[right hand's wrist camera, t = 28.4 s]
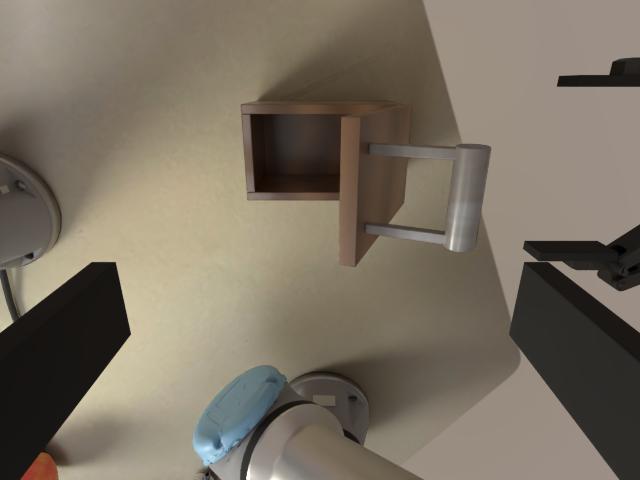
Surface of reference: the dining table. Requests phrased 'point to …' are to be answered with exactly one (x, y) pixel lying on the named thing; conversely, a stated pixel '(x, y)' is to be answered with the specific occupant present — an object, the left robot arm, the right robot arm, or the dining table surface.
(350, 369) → the dining table surface
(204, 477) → the toy gun
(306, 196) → the chest
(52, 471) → the apple
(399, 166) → the lid
